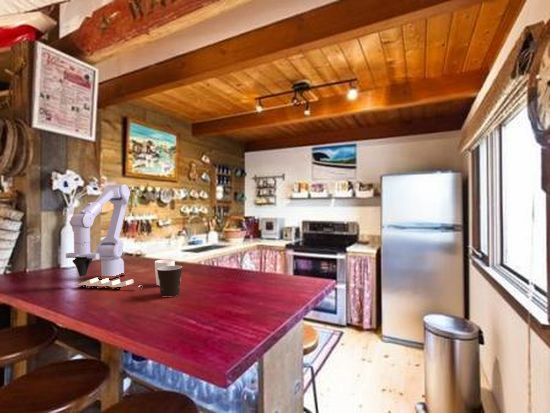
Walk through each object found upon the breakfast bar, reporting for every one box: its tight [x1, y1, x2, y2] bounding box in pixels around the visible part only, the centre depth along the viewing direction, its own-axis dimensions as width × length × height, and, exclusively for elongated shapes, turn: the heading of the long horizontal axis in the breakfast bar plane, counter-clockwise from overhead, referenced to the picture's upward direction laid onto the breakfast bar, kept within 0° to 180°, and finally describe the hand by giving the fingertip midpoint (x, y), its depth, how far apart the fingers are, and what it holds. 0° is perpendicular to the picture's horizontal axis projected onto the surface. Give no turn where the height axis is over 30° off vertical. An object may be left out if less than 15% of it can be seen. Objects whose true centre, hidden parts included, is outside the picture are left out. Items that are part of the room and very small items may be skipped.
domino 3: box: [96, 278, 121, 287], centre depth 123 cm, size 4×2×7 cm
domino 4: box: [110, 278, 135, 288], centre depth 122 cm, size 4×2×7 cm
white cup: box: [154, 258, 176, 286], centre depth 127 cm, size 8×8×10 cm
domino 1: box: [76, 277, 99, 285], centre depth 125 cm, size 4×2×7 cm
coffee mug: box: [157, 265, 183, 297], centre depth 113 cm, size 12×9×10 cm
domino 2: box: [85, 278, 110, 287], centre depth 124 cm, size 4×2×7 cm
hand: (82, 275), depth 126 cm, fingers closed
